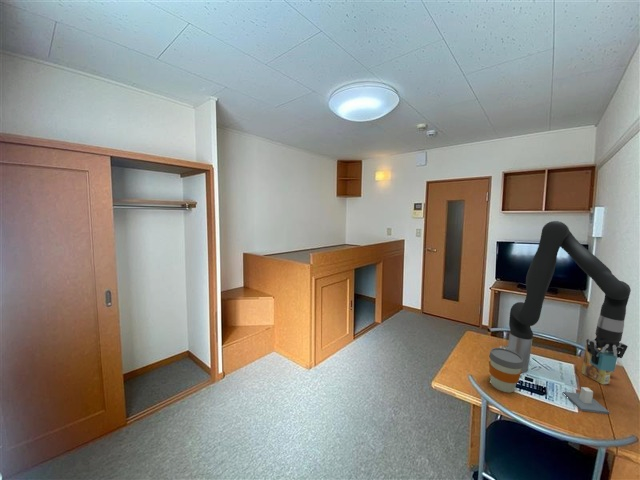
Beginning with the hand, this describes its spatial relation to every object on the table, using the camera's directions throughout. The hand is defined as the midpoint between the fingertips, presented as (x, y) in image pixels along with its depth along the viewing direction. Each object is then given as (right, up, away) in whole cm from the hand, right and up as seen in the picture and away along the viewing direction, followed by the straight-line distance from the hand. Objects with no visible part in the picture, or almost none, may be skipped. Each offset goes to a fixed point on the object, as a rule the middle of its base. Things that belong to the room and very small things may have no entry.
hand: (602, 364), depth 116 cm
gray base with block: (-11, -15, -3) cm, 19 cm away
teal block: (0, -1, 0) cm, 1 cm away
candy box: (+11, -13, +14) cm, 22 cm away
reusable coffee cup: (-39, -13, +6) cm, 41 cm away
